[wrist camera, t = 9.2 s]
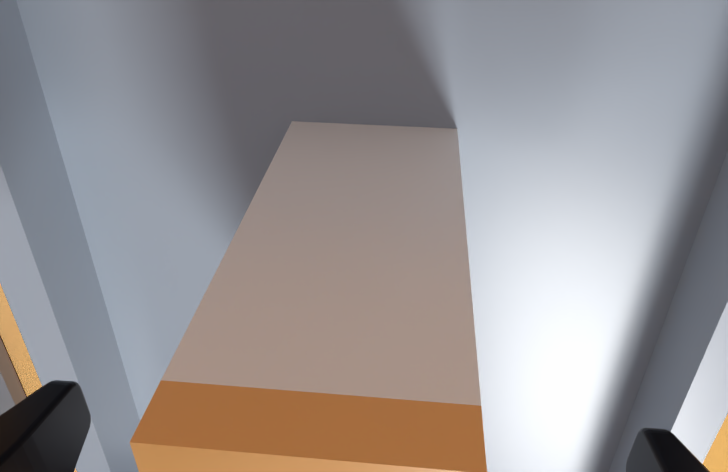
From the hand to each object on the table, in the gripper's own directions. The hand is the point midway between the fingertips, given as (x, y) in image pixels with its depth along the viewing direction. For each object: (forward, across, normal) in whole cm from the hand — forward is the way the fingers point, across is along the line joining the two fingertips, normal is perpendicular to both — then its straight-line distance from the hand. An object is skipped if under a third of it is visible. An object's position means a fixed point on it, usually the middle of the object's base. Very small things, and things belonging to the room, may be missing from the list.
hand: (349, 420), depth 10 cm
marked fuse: (+5, 0, 0) cm, 5 cm away
